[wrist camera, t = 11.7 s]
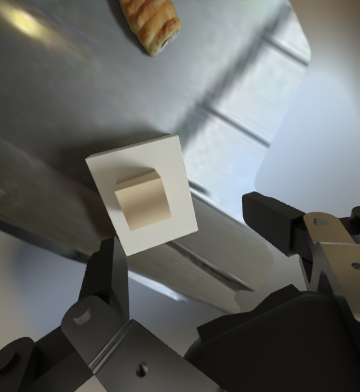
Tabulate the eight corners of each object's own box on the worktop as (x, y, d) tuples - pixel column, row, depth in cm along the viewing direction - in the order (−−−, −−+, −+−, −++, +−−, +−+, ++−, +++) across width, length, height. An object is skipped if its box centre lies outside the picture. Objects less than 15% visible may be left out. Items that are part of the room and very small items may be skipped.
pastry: (102, -3, 24) (99, -24, 21) (137, -41, 24) (140, -69, 21) (152, 63, 28) (156, 54, 25) (183, 31, 28) (191, 17, 25)
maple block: (116, 179, 28) (114, 191, 22) (154, 168, 29) (161, 177, 23) (129, 212, 30) (130, 231, 25) (163, 201, 31) (172, 216, 26)
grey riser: (90, 154, 30) (85, 159, 26) (170, 134, 33) (178, 135, 28) (126, 240, 37) (126, 256, 33) (189, 218, 40) (198, 230, 35)
